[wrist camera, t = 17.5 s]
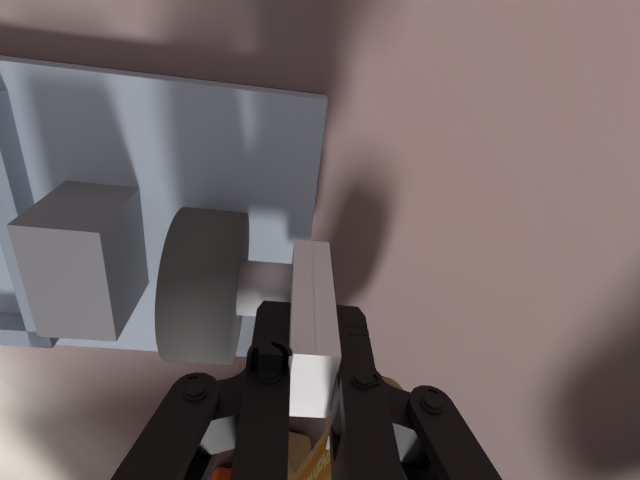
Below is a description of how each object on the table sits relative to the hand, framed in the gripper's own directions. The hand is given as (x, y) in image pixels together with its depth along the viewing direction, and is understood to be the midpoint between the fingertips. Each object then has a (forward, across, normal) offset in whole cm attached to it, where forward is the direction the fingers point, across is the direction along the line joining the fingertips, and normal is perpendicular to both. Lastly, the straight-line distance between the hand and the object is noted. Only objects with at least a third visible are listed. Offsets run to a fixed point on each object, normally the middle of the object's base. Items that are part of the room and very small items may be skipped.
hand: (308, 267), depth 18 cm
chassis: (+3, +12, 0) cm, 12 cm away
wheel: (+2, +3, 0) cm, 3 cm away
